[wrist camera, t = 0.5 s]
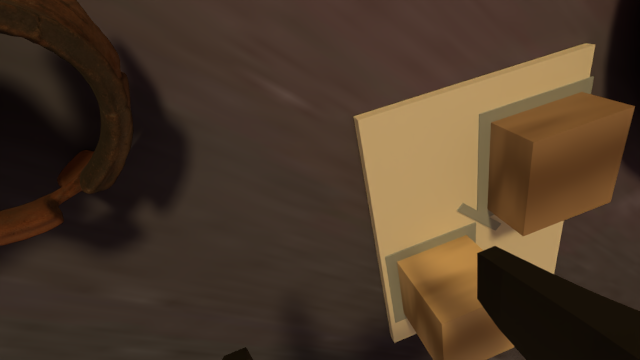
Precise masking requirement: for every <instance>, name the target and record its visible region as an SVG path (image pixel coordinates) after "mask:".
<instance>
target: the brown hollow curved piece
mask: <svg viewBox="0 0 640 360" xmlns="http://www.w3.org/2000/svg"><path fill="white" fill-rule="evenodd" d="M0 33H2V34H7V35H11V36H17V37H23V38H25V39H27V40H29V41H31V42H33V43H36V44H39V45H41V46H43V47H44V48H46V49H48V50H50V51H52V52H54V53H55V54H57V55H58V56H59V57H61V58H62V59H64V60H66V61H67V62H69V63H70V64H71V65H72V66H73V67H74V68H76V69H77V70H78V71H79V72H80V73H81V75H82V76H83V77H84V79H85V80H86V81H87V82H88V84H89V85H90V87H91V88H92V90H93V92H94V94H95V96H96V99H97V101H98V104H99V108H100V116H101V133H100V138H99V142H98V144H97V147H96V149H95V151H88V150H84V151H81V152H80V153H78V154H77V155H76V156H75V157H74V158H73V159H72V160H71V161H70V162H69V163H68V164H67V166H66V167H65V168H64V169H63V170H62V171H61V173H60V174H59V176H58V178H57V181H58V184H59V186H60V187H61V188H60V189H58V190H57V191H55V192H53V193H50V194H48V195H46V196H43V197H41V198H39V199H37V200H35V201H32V202H29V203H26V204H24V205H21V206H18V207H14V208H10V209H6V210H2V211H0V245H7V244H10V243H14V242H18V241H22V240H26V239H28V238H31V237H33V236H36V235H39V234H41V233H44V232H47V231H49V230H51V229H53V228H55V227H57V226H58V225H60V224H62V223H63V221H64V219H63V215H62V212H61V210H60V209H59V207H58V206H59V205H60V204H62V203H63V202H64V201H66V200H68V199H69V198H71V197H72V196H74V195H75V194H77V193H79V192H81V191H83V192H85V193H88V194H92V193H96V192H99V191H102V190H106V189H108V188H110V187H111V185H113V184H114V182H115V181H116V179H117V177H118V175H119V174H120V172H121V171H122V169H123V167H124V164H125V160H126V157H127V155H128V153H129V151H130V148H131V143H132V138H133V120H132V113H131V110H130V91H129V84H128V78H127V76H126V74H125V73H123V72H121V70H120V59H119V56H118V53H117V52H116V50H115V49H114V47H113V46H112V44H111V42H110V41H109V40H108V38H107V37H106V36H105V35H104V34H103V33H102V32H101V30H100V29H99V28H98V26H96V25H95V24H94V23H93V21H92V20H91V19H90V17H89V16H88V15H87V13H86V12H85V11H84V9H83V8H82V7H81V6H80V4H79V3H78V2H77V0H0Z"/></svg>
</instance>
